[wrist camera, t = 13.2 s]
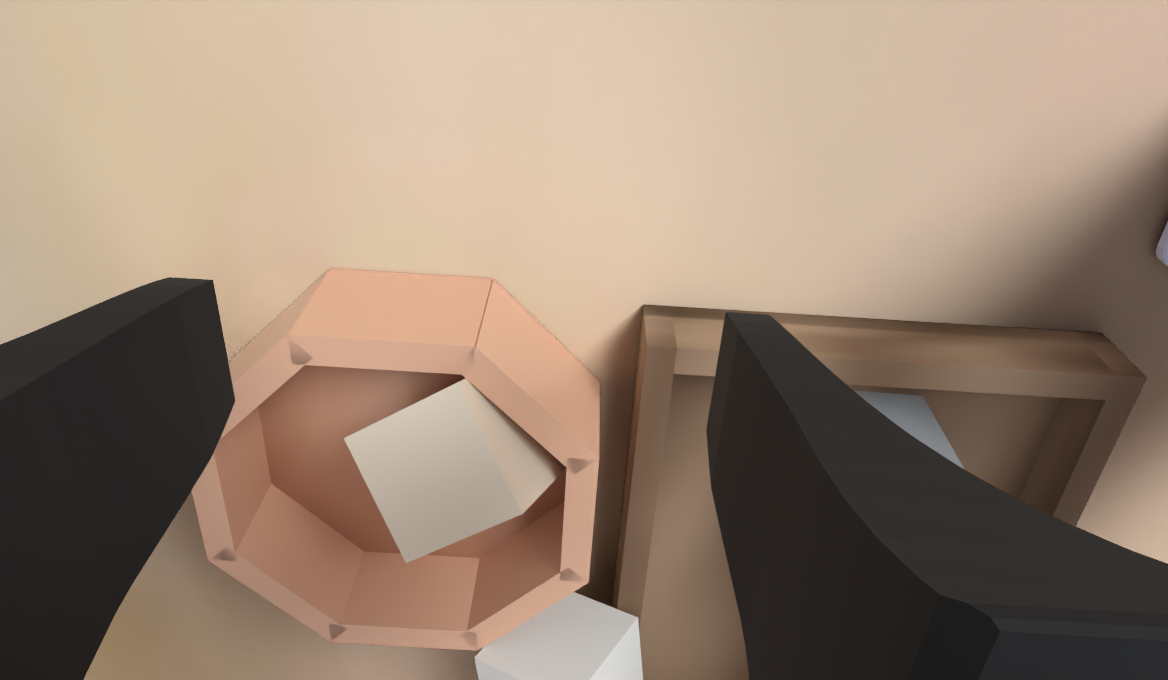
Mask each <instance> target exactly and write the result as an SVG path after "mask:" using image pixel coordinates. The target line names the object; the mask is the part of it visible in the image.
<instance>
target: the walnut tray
mask: <svg viewBox="0 0 1168 680" xmlns="http://www.w3.org/2000/svg"><path fill="white" fill-rule="evenodd" d="M726 312H735V313H751V314H768V315H770V316H771V317H773V318H774V319H775V320H776V321H777V322H779V323H780V324H781V325H782V326H783V327H784V328H785V329H786V330H787V331H788V332H790V333H791V334H792V335H793V336H794V337H795V338H796V339H797V340H798V341H799V342H800V343H801V344H802V345H803V346H804V347H806V348H807V349H808V350H809V351H810V352H811V353H812V354H813V355H814V356H815V357H816V358H817V359H818V360H820V361H821V362H822V363H823V364H824V365H825V366H826V367H827V368H828V369H829V370H831V371H832V372H833V373H834V374H835V375H836V376H837V377H838V378H840V379H841V380H842V381H843V382H844V383H845V384H846V385H848V386H849V387H850V388H851V389H852V390H854V391H866V392H880V393H893V394H906V395H919V396H923V397H924V399H925V401H926V403H927V404H928V406H929V408H930V410H931V411H932V413H933V415H934V417H935V418H936V420H937V422H938V424H939V425H940V427H941V429H942V431H943V432H944V434H945V436H946V438H947V439H948V441H949V443H950V445H951V446H952V448H953V450H954V452H955V453H956V455H957V457H958V459H959V460H960V462H961V464H962V466H963V467H964V469H965V470H966V471H968V472H970V473H971V474H973V475H975V476H977V477H978V478H980V479H982V480H984V481H985V482H987V483H989V484H991V485H993V486H995V487H997V488H999V489H1000V490H1002V491H1004V492H1006V493H1008V494H1010V495H1012V496H1014V497H1015V498H1017V499H1019V500H1021V501H1023V502H1025V503H1027V504H1029V505H1031V506H1033V507H1035V508H1037V509H1039V510H1041V511H1043V512H1045V513H1047V514H1049V515H1051V516H1053V517H1056V518H1058V519H1060V520H1062V521H1064V522H1066V523H1068V524H1071V525H1073V526H1076V524H1077V522H1078V520H1079V518H1080V516H1081V514H1082V512H1083V510H1084V508H1085V505H1086V503H1087V501H1088V499H1089V497H1090V495H1091V493H1092V491H1093V489H1094V487H1095V485H1096V483H1097V480H1098V478H1099V476H1100V474H1101V472H1102V470H1103V468H1104V466H1105V464H1106V462H1107V460H1108V457H1109V455H1110V453H1111V451H1112V449H1113V447H1114V445H1115V443H1116V441H1117V439H1118V437H1119V435H1120V432H1121V430H1122V428H1123V426H1124V424H1125V422H1126V420H1127V418H1128V416H1129V414H1130V412H1131V409H1132V407H1133V405H1134V403H1135V401H1136V399H1137V397H1138V395H1139V393H1140V391H1141V389H1142V387H1143V384H1144V382H1145V380H1146V378H1147V377H1146V376H1145V375H1144V374H1143V373H1142V372H1141V371H1140V370H1139V369H1138V368H1137V367H1136V366H1135V365H1134V364H1133V363H1132V362H1131V361H1130V360H1129V359H1128V358H1127V357H1126V356H1125V355H1124V354H1123V353H1122V352H1121V351H1120V350H1119V349H1118V348H1117V347H1116V346H1115V345H1114V344H1113V343H1112V342H1111V341H1110V340H1109V339H1108V338H1106V337H1105V336H1104V335H1103V334H1102V333H1093V332H1077V331H1061V330H1045V329H1028V328H1012V327H996V326H980V325H964V324H948V323H932V322H915V321H899V320H883V319H867V318H851V317H835V316H819V315H803V314H786V313H770V312H754V311H738V310H722V309H706V308H690V307H674V306H657V305H643V313H642V323H641V332H640V341H639V351H638V360H637V369H636V379H635V388H634V397H633V407H632V416H631V426H630V435H629V444H628V454H627V463H626V472H625V482H624V491H623V500H622V510H621V519H620V528H619V538H618V547H617V556H616V566H615V575H614V584H613V594H612V603H611V607H613V608H616V609H618V610H621V611H623V612H626V613H628V614H631V615H633V616H636V617H638V624H639V636H640V648H641V660H642V672H643V680H749V673H748V664H747V655H746V647H745V642H744V636H743V631H742V625H741V619H740V615H739V610H738V606H737V602H736V597H735V593H734V588H733V584H732V580H731V575H730V571H729V566H728V562H727V558H726V553H725V549H724V545H723V540H722V536H721V531H720V527H719V522H718V518H717V513H716V509H715V504H714V499H713V495H712V490H711V481H710V471H709V459H708V446H707V432H706V428H707V422H708V416H709V410H710V404H711V398H712V392H713V386H714V380H715V374H716V367H717V361H718V355H719V349H720V343H721V337H722V331H723V325H724V319H725V313H726Z"/></svg>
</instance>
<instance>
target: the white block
mask: <svg viewBox="0 0 1168 680" xmlns="http://www.w3.org/2000/svg"><path fill="white" fill-rule="evenodd" d="M474 659H475V664H476V669H477V674H478V679H479V680H643V672H642V660H641V648H640V636H639V624H638V617H636V616H633V615H631V614H628V613H626V612H623V611H621V610H618V609H616V608H613V607H611V606H608V605H605V604H603V603H600V602H598V601H595V600H593V599H590V598H588V597H585V596H583V595H580V594H578V593H575V592H573V593H571V594H570V595H568V596H566V597H565V598H563V599H561V600H560V601H558V602H557V603H555V604H553V605H552V606H550V607H548V608H547V609H545V610H544V611H542V612H540V613H539V614H537V615H535V616H534V617H532V618H531V619H529V620H527V621H526V622H524V623H522V624H521V625H519V626H518V627H516V628H514V629H513V630H511V631H509V632H508V633H506V634H505V635H503V636H501V637H500V638H498V639H496V640H495V641H493V642H492V643H490V644H488V645H487V646H485V647H484V648H483V649H482V650H481V651H480V652H479V653H478V654H477V655H476V656H475V657H474Z"/></svg>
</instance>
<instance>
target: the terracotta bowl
mask: <svg viewBox="0 0 1168 680" xmlns="http://www.w3.org/2000/svg"><path fill="white" fill-rule="evenodd" d="M229 369H230V374H231V380H232V385H233V390H234V396H235V403H234V406H233V408H232V411H231V413H230V416H229V418H228V421H227V423H226V426H225V428H224V431H223V433H222V435H221V437H220V440H219V442H218V444H217V446H216V448H215V451H214V453H213V455H212V457H211V459H210V461H209V462H208V464H207V466H206V468H205V469H204V471H203V473H202V474H201V476H200V477H199V479H198V481H197V482H196V484H195V485H194V487H193V489H192V490H191V491H192V496H193V500H194V504H195V508H196V513H197V517H198V521H199V525H200V530H201V534H202V538H203V542H204V547H205V551H206V555H207V559H208V560H209V562H211V563H212V564H214V565H215V566H217V567H218V568H220V569H221V570H223V571H224V572H226V573H227V574H229V575H230V576H232V577H233V578H235V579H236V580H238V581H239V582H241V583H242V584H244V585H245V586H247V587H248V588H250V589H251V590H253V591H254V592H256V593H257V594H259V595H260V596H262V597H263V598H265V599H266V600H268V601H269V602H271V603H272V604H274V605H275V606H277V607H278V608H280V609H281V610H283V611H284V612H286V613H287V614H289V615H290V616H292V617H293V618H295V619H296V620H298V621H299V622H301V623H302V624H304V625H305V626H307V627H308V628H310V629H311V630H313V631H314V632H316V633H317V634H319V635H320V636H322V637H323V638H325V639H326V640H328V641H329V642H330V641H331V642H335V643H352V644H370V645H387V646H404V647H422V648H439V649H456V650H474V651H477V650H480V649H482V648H483V647H485V646H487V645H488V644H490V643H492V642H493V641H495V640H496V639H498V638H500V637H501V636H503V635H505V634H506V633H508V632H509V631H511V630H513V629H514V628H516V627H518V626H519V625H521V624H522V623H524V622H526V621H527V620H529V619H531V618H532V617H534V616H535V615H537V614H539V613H540V612H542V611H544V610H545V609H547V608H548V607H550V606H552V605H553V604H555V603H557V602H558V601H560V600H561V599H563V598H565V597H566V596H568V595H570V594H571V593H573V592H574V591H576V590H578V589H579V588H581V587H583V586H584V585H586V584H587V583H588V582H589V573H590V561H591V549H592V538H593V526H594V514H595V503H596V491H597V479H598V468H599V429H600V381H599V380H598V379H597V378H596V377H595V376H594V375H593V374H592V373H591V372H589V371H588V370H587V369H586V368H585V367H584V366H583V365H582V364H581V363H580V362H579V361H578V360H577V359H576V358H575V357H574V356H573V355H572V354H571V353H570V352H569V351H568V350H567V349H566V348H564V347H563V346H562V345H561V344H560V343H559V342H558V341H557V340H556V339H555V338H554V337H553V336H552V335H551V334H550V333H549V332H548V331H547V330H546V329H545V328H544V327H543V326H542V325H541V324H540V323H538V322H537V321H536V320H535V319H534V318H533V317H532V316H531V315H530V314H529V313H528V312H527V311H526V310H525V309H524V308H523V307H522V306H521V305H520V304H519V303H518V302H517V301H516V300H515V299H513V298H512V297H511V296H510V295H509V294H508V293H507V292H506V291H505V290H504V289H503V288H502V287H501V286H500V285H499V284H498V283H497V282H496V281H495V280H494V279H493V280H492V279H490V278H474V277H457V276H441V275H425V274H409V273H393V272H377V271H361V270H345V269H330V270H327V271H326V272H325V273H324V274H323V275H322V276H321V277H320V278H319V279H318V280H317V281H316V282H315V283H313V284H312V285H311V286H310V287H309V288H308V289H307V290H306V291H305V292H304V293H303V294H302V295H301V296H299V297H298V298H297V299H296V300H295V301H294V302H293V303H292V304H291V305H290V306H289V307H288V308H287V309H285V310H284V311H283V312H282V313H281V314H280V315H279V316H278V317H277V318H276V319H275V320H274V321H273V322H271V323H270V324H269V325H268V326H267V327H266V328H265V329H264V330H263V331H262V332H261V333H260V334H258V335H257V336H256V337H255V338H254V339H253V340H252V341H251V342H250V343H249V344H248V345H247V346H246V347H244V348H243V349H242V350H241V351H240V352H239V353H238V354H237V355H236V356H235V357H234V358H233V359H232V360H231V361H230V363H229ZM463 379H467V380H468V381H469V382H471V383H472V384H473V385H474V386H475V387H476V388H477V389H478V390H480V391H481V392H482V393H483V394H484V395H485V396H486V397H487V398H489V399H490V400H491V401H492V402H493V403H494V404H495V405H497V406H498V407H499V408H500V409H501V410H502V411H503V412H504V413H506V414H507V415H508V416H509V417H510V418H511V419H512V420H514V421H515V422H516V423H517V424H518V425H519V426H520V427H521V428H523V429H524V430H525V431H526V432H527V433H528V434H529V435H530V436H532V437H533V438H534V439H535V440H536V441H537V442H538V443H540V444H541V445H542V446H543V447H544V448H545V449H546V450H547V451H549V452H550V453H551V454H552V455H553V456H554V457H555V458H556V459H558V460H559V461H560V462H561V463H562V464H563V465H564V466H565V467H566V469H565V470H564V471H563V472H562V473H561V474H560V475H559V476H558V477H557V478H556V480H555V481H554V482H553V483H552V484H551V485H550V486H549V487H548V488H547V489H546V490H545V491H544V492H543V493H542V494H541V495H540V496H539V497H538V498H537V499H536V500H535V502H534V503H533V504H532V505H531V506H530V507H529V508H528V509H527V510H526V511H525V512H524V513H523V514H521V515H519V516H517V517H514V518H512V519H509V520H507V521H505V522H502V523H500V524H498V525H495V526H493V527H490V528H488V529H486V530H483V531H481V532H479V533H476V534H474V535H472V536H469V537H467V538H464V539H462V540H460V541H457V542H455V543H453V544H450V545H448V546H445V547H443V548H441V549H438V550H436V551H434V552H431V553H429V554H427V555H424V556H422V557H419V558H417V559H415V560H412V561H410V562H408V563H406V562H405V560H404V558H403V556H402V554H401V552H400V550H399V548H398V546H397V544H396V542H395V540H394V538H393V536H392V534H391V532H390V530H389V528H388V526H387V524H386V522H385V520H384V518H383V516H382V514H381V512H380V510H379V508H378V506H377V504H376V502H375V500H374V498H373V496H372V494H371V492H370V490H369V488H368V486H367V484H366V482H365V480H364V478H363V476H362V474H361V472H360V470H359V468H358V466H357V464H356V462H355V460H354V458H353V456H352V454H351V452H350V450H349V448H348V446H347V444H346V442H345V440H344V438H345V437H347V436H349V435H351V434H354V433H356V432H358V431H360V430H362V429H364V428H366V427H368V426H370V425H372V424H374V423H376V422H378V421H380V420H382V419H384V418H386V417H388V416H390V415H392V414H394V413H396V412H398V411H400V410H402V409H404V408H406V407H408V406H410V405H413V404H415V403H417V402H419V401H421V400H423V399H425V398H427V397H429V396H431V395H433V394H435V393H437V392H439V391H441V390H443V389H445V388H447V387H449V386H451V385H453V384H455V383H457V382H459V381H461V380H463Z"/></svg>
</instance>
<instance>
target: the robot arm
mask: <svg viewBox="0 0 1168 680" xmlns="http://www.w3.org/2000/svg"><path fill="white" fill-rule="evenodd" d="M1156 254H1157V258H1158V259H1159V260H1160V261H1161V262H1163V263H1164V264H1165V265H1167V266H1168V222H1167V224H1166V227H1165V229H1164V231H1163V233H1162V236H1161V238H1160V240H1159V242H1158V245H1157V249H1156ZM234 403H235V396H234V390H233V385H232V380H231V374H230V369H229V364H228V358H227V353H226V348H225V342H224V337H223V332H222V326H221V321H220V316H219V310H218V305H217V300H216V294H215V289H214V284H213V280H203V279H186V278H170V277H169V278H166V279H162V280H158V281H155V282H152V283H149V284H146V285H143V286H141V287H138V288H135V289H133V290H130V291H128V292H125V293H123V294H121V295H118V296H116V297H113V298H111V299H109V300H106V301H104V302H101V303H99V304H97V305H94V306H92V307H90V308H87V309H85V310H83V311H80V312H78V313H76V314H73V315H71V316H69V317H67V318H64V319H62V320H60V321H57V322H55V323H53V324H50V325H48V326H46V327H43V328H41V329H39V330H36V331H34V332H31V333H29V334H26V335H24V336H21V337H19V338H16V339H14V340H11V341H9V342H6V343H4V344H1V345H0V680H83V679H84V677H85V675H86V673H87V671H88V669H89V667H90V665H91V663H92V661H93V658H94V656H95V654H96V652H97V650H98V648H99V646H100V644H101V642H102V640H103V638H104V636H105V634H106V632H107V630H108V628H109V625H110V623H111V621H112V619H113V617H114V615H115V613H116V611H117V610H118V608H119V606H120V604H121V603H122V601H123V599H124V597H125V596H126V594H127V592H128V590H129V589H130V587H131V585H132V583H133V582H134V580H135V579H136V577H137V576H138V574H139V572H140V571H141V569H142V568H143V566H144V565H145V563H146V561H147V560H148V558H149V557H150V555H151V554H152V552H153V550H154V549H155V547H156V546H157V544H158V543H159V541H160V539H161V538H162V536H163V535H164V533H165V532H166V530H167V528H168V527H169V525H170V524H171V522H172V520H173V519H174V517H175V516H176V514H177V513H178V511H179V509H180V508H181V506H182V505H183V503H184V502H185V500H186V498H187V497H188V495H189V494H190V492H191V490H192V489H193V487H194V485H195V484H196V482H197V481H198V479H199V477H200V476H201V474H202V473H203V471H204V469H205V468H206V466H207V464H208V462H209V461H210V459H211V457H212V455H213V453H214V451H215V448H216V446H217V444H218V442H219V440H220V437H221V435H222V433H223V431H224V428H225V426H226V423H227V421H228V418H229V416H230V413H231V411H232V408H233V406H234ZM706 432H707V446H708V459H709V471H710V481H711V490H712V495H713V499H714V504H715V509H716V513H717V518H718V522H719V527H720V531H721V536H722V540H723V545H724V549H725V553H726V558H727V562H728V566H729V571H730V575H731V580H732V584H733V588H734V593H735V597H736V602H737V606H738V610H739V615H740V619H741V625H742V631H743V636H744V642H745V647H746V655H747V664H748V673H749V680H1168V564H1166V563H1164V562H1161V561H1158V560H1155V559H1153V558H1150V557H1147V556H1144V555H1142V554H1139V553H1136V552H1134V551H1131V550H1129V549H1126V548H1124V547H1121V546H1119V545H1117V544H1114V543H1112V542H1110V541H1107V540H1105V539H1103V538H1100V537H1098V536H1096V535H1094V534H1091V533H1089V532H1087V531H1084V530H1082V529H1080V528H1077V527H1075V526H1073V525H1071V524H1068V523H1066V522H1064V521H1062V520H1060V519H1058V518H1056V517H1053V516H1051V515H1049V514H1047V513H1045V512H1043V511H1041V510H1039V509H1037V508H1035V507H1033V506H1031V505H1029V504H1027V503H1025V502H1023V501H1021V500H1019V499H1017V498H1015V497H1014V496H1012V495H1010V494H1008V493H1006V492H1004V491H1002V490H1000V489H999V488H997V487H995V486H993V485H991V484H989V483H987V482H985V481H984V480H982V479H980V478H978V477H977V476H975V475H973V474H971V473H970V472H968V471H966V470H965V469H963V468H961V467H960V466H958V465H956V464H955V463H953V462H952V461H950V460H948V459H947V458H945V457H944V456H942V455H941V454H939V453H938V452H936V451H935V450H933V449H931V448H930V447H928V446H927V445H925V444H924V443H922V442H921V441H919V440H918V439H916V438H915V437H913V436H912V435H910V434H909V433H908V432H906V431H905V430H903V429H902V428H901V427H899V426H898V425H896V424H895V423H894V422H893V421H891V420H890V419H889V418H887V417H886V416H885V415H884V414H882V413H881V412H880V411H878V410H877V409H876V408H875V407H873V406H872V405H871V404H869V403H868V402H867V401H866V400H864V399H863V398H862V397H861V396H860V395H858V394H857V393H856V392H855V391H854V390H852V389H851V388H850V387H849V386H848V385H846V384H845V383H844V382H843V381H842V380H841V379H840V378H838V377H837V376H836V375H835V374H834V373H833V372H832V371H831V370H829V369H828V368H827V367H826V366H825V365H824V364H823V363H822V362H821V361H820V360H818V359H817V358H816V357H815V356H814V355H813V354H812V353H811V352H810V351H809V350H808V349H807V348H806V347H804V346H803V345H802V344H801V343H800V342H799V341H798V340H797V339H796V338H795V337H794V336H793V335H792V334H791V333H790V332H788V331H787V330H786V329H785V328H784V327H783V326H782V325H781V324H780V323H779V322H777V321H776V320H775V319H774V318H773V317H771V316H770V315H768V314H751V313H735V312H726V313H725V319H724V325H723V331H722V337H721V343H720V349H719V355H718V361H717V367H716V374H715V380H714V386H713V392H712V398H711V404H710V410H709V416H708V422H707V428H706Z"/></svg>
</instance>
